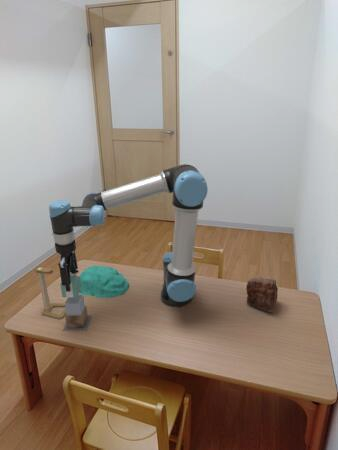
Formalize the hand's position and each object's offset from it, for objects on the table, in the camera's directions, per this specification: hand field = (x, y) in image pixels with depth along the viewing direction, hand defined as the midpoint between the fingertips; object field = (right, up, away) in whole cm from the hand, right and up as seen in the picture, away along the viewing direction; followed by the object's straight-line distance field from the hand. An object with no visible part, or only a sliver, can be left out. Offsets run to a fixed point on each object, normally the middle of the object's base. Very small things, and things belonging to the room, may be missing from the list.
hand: (72, 291), depth 137 cm
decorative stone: (+6, -4, +32) cm, 33 cm away
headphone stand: (-11, -12, +14) cm, 22 cm away
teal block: (0, 0, 0) cm, 0 cm away
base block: (0, -14, +6) cm, 16 cm away
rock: (+81, -10, +14) cm, 83 cm away
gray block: (0, -9, +4) cm, 10 cm away
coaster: (+1, -15, +6) cm, 16 cm away
